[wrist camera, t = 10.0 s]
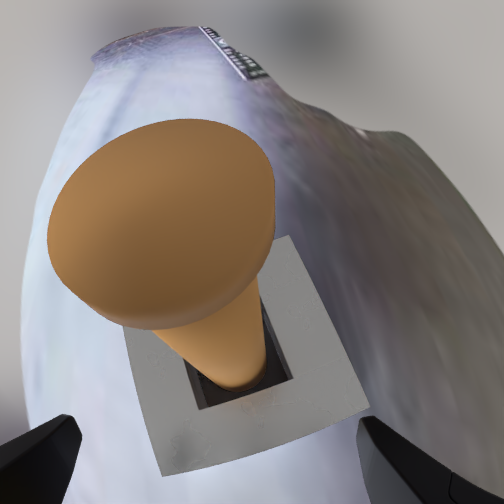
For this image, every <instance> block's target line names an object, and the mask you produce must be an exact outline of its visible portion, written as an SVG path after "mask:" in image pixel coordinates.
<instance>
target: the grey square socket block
mask: <svg viewBox="0 0 504 504" xmlns="http://www.w3.org/2000/svg"><path fill="white" fill-rule="evenodd" d="M257 279H258V288H259V297H260V305H261V313H262V316H263V318H264V321H265V323H266V326H267V328H268V331H269V333H270V336H271V338H272V341H273V343H274V346H275V348H276V351H277V353H278V356H279V358H280V361H281V363H282V365H283V368H284V370H285V373H286V375H287V378H288V380H289V381H286V382H283V383H281V384H278V385H275V386H273V387H270V388H267V389H264V390H261V391H259V392H256V393H253V394H250V395H247V396H244V397H241V398H238V399H235V400H232V401H229V402H225V403H222V404H219V405H216V406H212V407H209V408H208V405H207V402H206V399H205V396H204V393H203V390H202V387H201V384H200V381H199V377H198V374H197V371H196V368H195V367H194V366H193V365H191V364H190V363H189V362H188V361H186V360H185V359H184V358H183V357H182V356H180V355H179V354H178V353H177V352H176V351H174V350H173V349H172V348H171V347H170V346H169V345H167V344H166V343H165V342H164V341H163V340H162V339H160V338H159V337H158V336H157V335H156V334H155V333H154V332H153V331H151V330H143V329H134V328H130V327H126V326H123V330H124V336H125V341H126V346H127V351H128V356H129V360H130V365H131V370H132V374H133V378H134V383H135V387H136V391H137V395H138V399H139V403H140V406H141V410H142V414H143V417H144V421H145V425H146V428H147V431H148V435H149V438H150V441H151V445H152V448H153V451H154V454H155V457H156V460H157V463H158V466H159V469H160V472H161V475H162V477H164V476H169V475H175V474H180V473H184V472H189V471H194V470H198V469H202V468H206V467H210V466H214V465H218V464H222V463H226V462H229V461H233V460H236V459H240V458H243V457H247V456H250V455H253V454H256V453H259V452H262V451H265V450H268V449H271V448H274V447H277V446H280V445H283V444H285V443H288V442H291V441H294V440H296V439H299V438H301V437H304V436H306V435H309V434H311V433H314V432H316V431H319V430H321V429H324V428H326V427H328V426H330V425H333V424H335V423H337V422H339V421H342V420H344V419H346V418H348V417H350V416H352V415H354V414H357V413H359V412H361V411H363V410H365V409H367V408H369V407H370V405H369V402H368V400H367V398H366V395H365V393H364V391H363V389H362V386H361V384H360V382H359V380H358V378H357V375H356V373H355V371H354V369H353V367H352V364H351V362H350V360H349V358H348V356H347V353H346V351H345V349H344V347H343V345H342V343H341V340H340V338H339V336H338V334H337V332H336V330H335V328H334V326H333V323H332V321H331V319H330V317H329V315H328V313H327V311H326V309H325V307H324V305H323V303H322V300H321V298H320V296H319V294H318V292H317V290H316V288H315V286H314V284H313V282H312V280H311V278H310V276H309V274H308V272H307V270H306V268H305V266H304V264H303V262H302V260H301V258H300V256H299V254H298V252H297V250H296V248H295V246H294V244H293V242H292V240H291V238H290V236H289V235H287V236H284V237H281V238H278V239H275V240H273V243H272V246H271V249H270V252H269V255H268V257H267V259H266V261H265V263H264V265H263V267H262V268H261V270H260V271H259V273H258V274H257Z"/></svg>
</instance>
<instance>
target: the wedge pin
mask: <svg viewBox="0 0 504 504" xmlns="http://www.w3.org/2000/svg"><path fill="white" fill-rule="evenodd" d="M274 232H275V180H274V175H273V171H272V167H271V165H270V162H269V160H268V158H267V156H266V155H265V153H264V152H263V150H262V149H261V148H260V147H259V146H258V144H257V143H256V142H255V141H254V140H252V139H251V138H250V137H248V136H247V135H246V134H244V133H243V132H241V131H239V130H237V129H235V128H233V127H230V126H228V125H226V124H222V123H218V122H215V121H209V120H203V119H176V120H167V121H162V122H157V123H153V124H149V125H146V126H143V127H140V128H137V129H135V130H132V131H130V132H128V133H125V134H123V135H121V136H119V137H117V138H116V139H114V140H112V141H110V142H109V143H107V144H106V145H104V146H103V147H101V148H100V149H98V150H97V151H96V152H95V153H93V154H92V155H91V156H90V157H89V158H88V159H86V160H85V161H84V162H83V163H82V164H81V165H80V166H79V167H78V168H77V170H76V171H75V172H74V173H73V174H72V175H71V177H70V178H69V179H68V181H67V182H66V184H65V185H64V187H63V188H62V190H61V192H60V194H59V195H58V197H57V200H56V202H55V204H54V206H53V209H52V212H51V215H50V219H49V225H48V232H47V245H48V253H49V257H50V260H51V264H52V266H53V268H54V270H55V272H56V274H57V275H58V277H59V278H60V280H61V281H62V282H63V284H64V285H66V286H67V287H68V288H69V289H70V290H71V291H72V292H73V293H74V294H75V295H77V296H78V297H79V298H80V299H81V300H82V301H84V302H85V303H86V304H87V305H89V306H90V307H91V308H92V309H93V310H95V311H96V312H97V313H98V314H100V315H102V316H103V317H105V318H106V319H108V320H110V321H112V322H114V323H117V324H119V325H122V326H126V327H130V328H134V329H143V330H151V331H153V332H154V333H155V334H156V335H157V336H158V337H159V338H160V339H162V340H163V341H164V342H165V343H166V344H167V345H169V346H170V347H171V348H172V349H173V350H174V351H176V352H177V353H178V354H179V355H180V356H182V357H183V358H184V359H185V360H186V361H188V362H189V363H190V364H191V365H193V366H194V367H195V368H196V369H197V370H199V371H200V372H201V373H202V374H204V375H205V376H206V377H208V378H209V379H210V380H211V381H213V382H214V383H215V384H217V385H218V386H219V387H221V388H222V389H225V390H227V391H231V392H243V391H247V390H249V389H251V388H253V387H254V386H256V385H257V384H258V383H259V382H260V381H261V380H262V378H263V377H264V374H265V372H266V368H267V358H266V349H265V340H264V332H263V323H262V314H261V305H260V297H259V288H258V279H257V274H258V273H259V271H260V270H261V268H262V267H263V265H264V263H265V261H266V259H267V257H268V255H269V252H270V249H271V246H272V243H273V239H274Z"/></svg>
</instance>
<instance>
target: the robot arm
mask: <svg viewBox="0 0 504 504" xmlns="http://www.w3.org/2000/svg"><path fill="white" fill-rule="evenodd" d="M81 441H82V433H81V431H80V429H79V427H78V425H77V423H76V421H75V419H74V417H73V416H71V415H66V414H61V415H59V416H57V417H55V418H53V419H52V420H50V421H48V422H46V423H44V424H42V425H40V426H38V427H36V428H34V429H32V430H31V431H29V432H27V433H25V434H23V435H21V436H19V437H17V438H15V439H13V440H11V441H9V442H7V443H5V444H3V445H1V446H0V504H62V501H63V499H64V496H65V493H66V490H67V488H68V485H69V482H70V480H71V477H72V474H73V471H74V467H75V463H76V460H77V456H78V452H79V448H80V445H81ZM356 441H357V447H358V452H359V457H360V462H361V467H362V473H363V478H364V483H365V486H366V490H367V493H368V496H369V499H370V502H371V504H504V499H503V498H500V497H498V496H496V495H494V494H492V493H489V492H487V491H485V490H483V489H481V488H479V487H477V486H475V485H474V484H472V483H470V482H469V481H467V480H465V479H464V478H462V477H461V476H459V475H457V474H456V473H454V472H452V471H451V470H450V469H448V468H447V467H445V466H444V465H442V464H441V463H439V462H438V461H437V460H435V459H434V458H432V457H431V456H429V455H428V454H426V453H425V452H424V451H422V450H421V449H419V448H418V447H416V446H415V445H414V444H412V443H411V442H409V441H408V440H407V439H405V438H404V437H402V436H401V435H400V434H398V433H397V432H396V431H394V430H393V429H391V428H390V427H389V426H387V425H386V424H385V423H383V422H382V421H381V420H379V419H378V418H376V417H375V416H367V417H362V418H360V420H359V425H358V430H357V436H356Z"/></svg>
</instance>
